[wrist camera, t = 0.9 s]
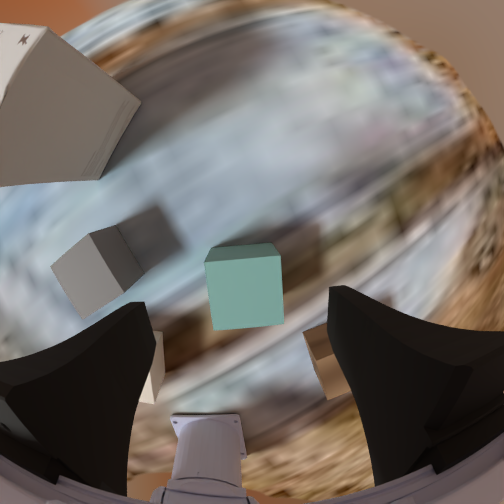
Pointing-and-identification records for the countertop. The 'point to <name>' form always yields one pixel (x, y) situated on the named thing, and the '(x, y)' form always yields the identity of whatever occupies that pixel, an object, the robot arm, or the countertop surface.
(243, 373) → the countertop surface
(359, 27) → the countertop surface
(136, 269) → the charcoal cube
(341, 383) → the walnut cube
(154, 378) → the offwhite cube
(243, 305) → the teal cube
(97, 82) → the skincare box
